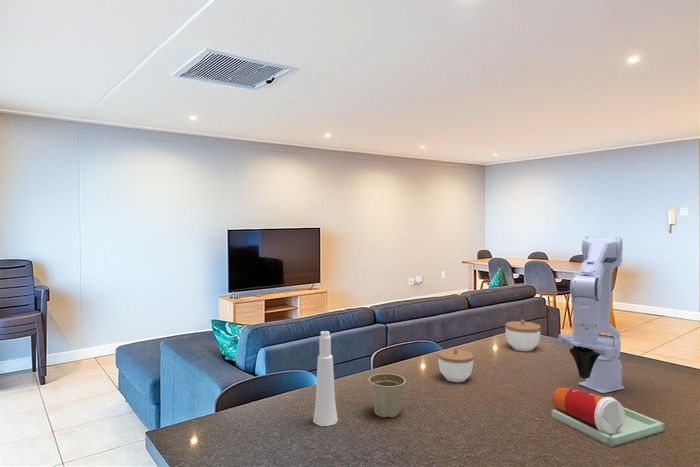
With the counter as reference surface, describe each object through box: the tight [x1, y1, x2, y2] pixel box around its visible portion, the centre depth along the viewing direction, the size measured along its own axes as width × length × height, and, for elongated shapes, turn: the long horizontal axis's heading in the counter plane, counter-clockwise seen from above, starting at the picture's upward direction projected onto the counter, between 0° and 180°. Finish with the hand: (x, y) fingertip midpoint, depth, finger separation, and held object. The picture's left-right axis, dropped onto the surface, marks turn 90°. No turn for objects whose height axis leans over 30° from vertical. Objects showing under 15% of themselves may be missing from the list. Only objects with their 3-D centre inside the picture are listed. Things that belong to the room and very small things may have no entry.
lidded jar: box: [437, 348, 475, 383], centre depth 139 cm, size 11×11×9 cm
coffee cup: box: [551, 386, 625, 434], centre depth 108 cm, size 8×8×15 cm
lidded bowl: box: [504, 319, 542, 352], centre depth 171 cm, size 13×13×11 cm
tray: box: [551, 406, 666, 448], centre depth 108 cm, size 18×16×2 cm
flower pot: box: [368, 373, 406, 418], centre depth 115 cm, size 9×9×9 cm
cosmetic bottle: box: [312, 330, 339, 427], centre depth 110 cm, size 6×6×22 cm
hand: (584, 377), depth 114 cm, fingers closed
